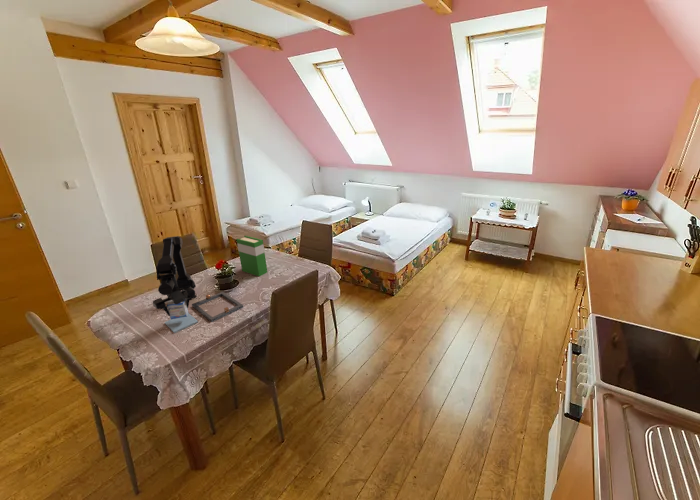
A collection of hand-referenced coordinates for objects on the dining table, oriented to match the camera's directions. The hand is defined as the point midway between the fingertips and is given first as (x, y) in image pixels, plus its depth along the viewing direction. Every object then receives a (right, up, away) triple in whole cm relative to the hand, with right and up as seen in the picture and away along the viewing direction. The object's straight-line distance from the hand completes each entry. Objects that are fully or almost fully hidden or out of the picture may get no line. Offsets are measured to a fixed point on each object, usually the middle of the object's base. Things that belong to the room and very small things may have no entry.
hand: (178, 311), depth 165 cm
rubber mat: (0, -6, +2) cm, 7 cm away
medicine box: (0, -3, +1) cm, 3 cm away
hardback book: (+22, +17, +58) cm, 64 cm away
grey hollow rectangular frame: (+14, 0, +16) cm, 21 cm away
